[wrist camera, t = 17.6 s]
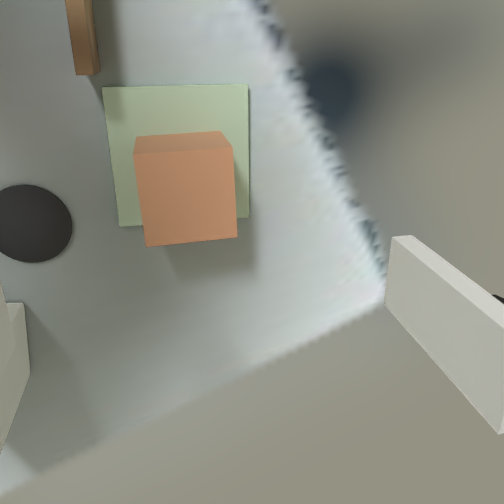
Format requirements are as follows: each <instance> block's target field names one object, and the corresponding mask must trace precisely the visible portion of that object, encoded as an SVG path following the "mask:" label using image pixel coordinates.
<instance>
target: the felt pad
mask: <svg viewBox="0 0 504 504" xmlns="http://www.w3.org/2000/svg"><path fill="white" fill-rule="evenodd" d="M102 95H103V102H104V110H105V118H106V125H107V133H108V141H109V148H110V156H111V164H112V171H113V179H114V187H115V195H116V202H117V210H118V218H119V225H120V227H125V226H139V225H143V223H142V216H141V209H140V202H139V195H138V188H137V181H136V174H135V167H134V160H133V151H134V146H135V141H136V137H137V136H151V135H165V134H179V133H194V132H208V131H221V132H222V133H223V135H224V136H225V137H226V139H227V140H228V141H229V143H230V144H231V145H232V147H233V161H234V180H235V198H236V217H237V219H238V218H249V140H248V84H216V85H171V86H126V87H102Z"/></svg>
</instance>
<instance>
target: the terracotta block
mask: <svg viewBox="0 0 504 504" xmlns="http://www.w3.org/2000/svg"><path fill="white" fill-rule="evenodd" d="M133 160H134V167H135V174H136V181H137V188H138V195H139V202H140V209H141V216H142V223H143V230H144V237H145V244H146V247H152V246H161V245H170V244H180V243H189V242H198V241H208V240H217V239H226V238H236V237H238V235H237V217H236V198H235V180H234V161H233V147H232V145H231V144H230V143H229V141H228V140H227V139H226V137H225V136H224V135H223V133H222V132H221V131H208V132H194V133H179V134H165V135H151V136H137V137H136V141H135V146H134V151H133Z"/></svg>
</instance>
